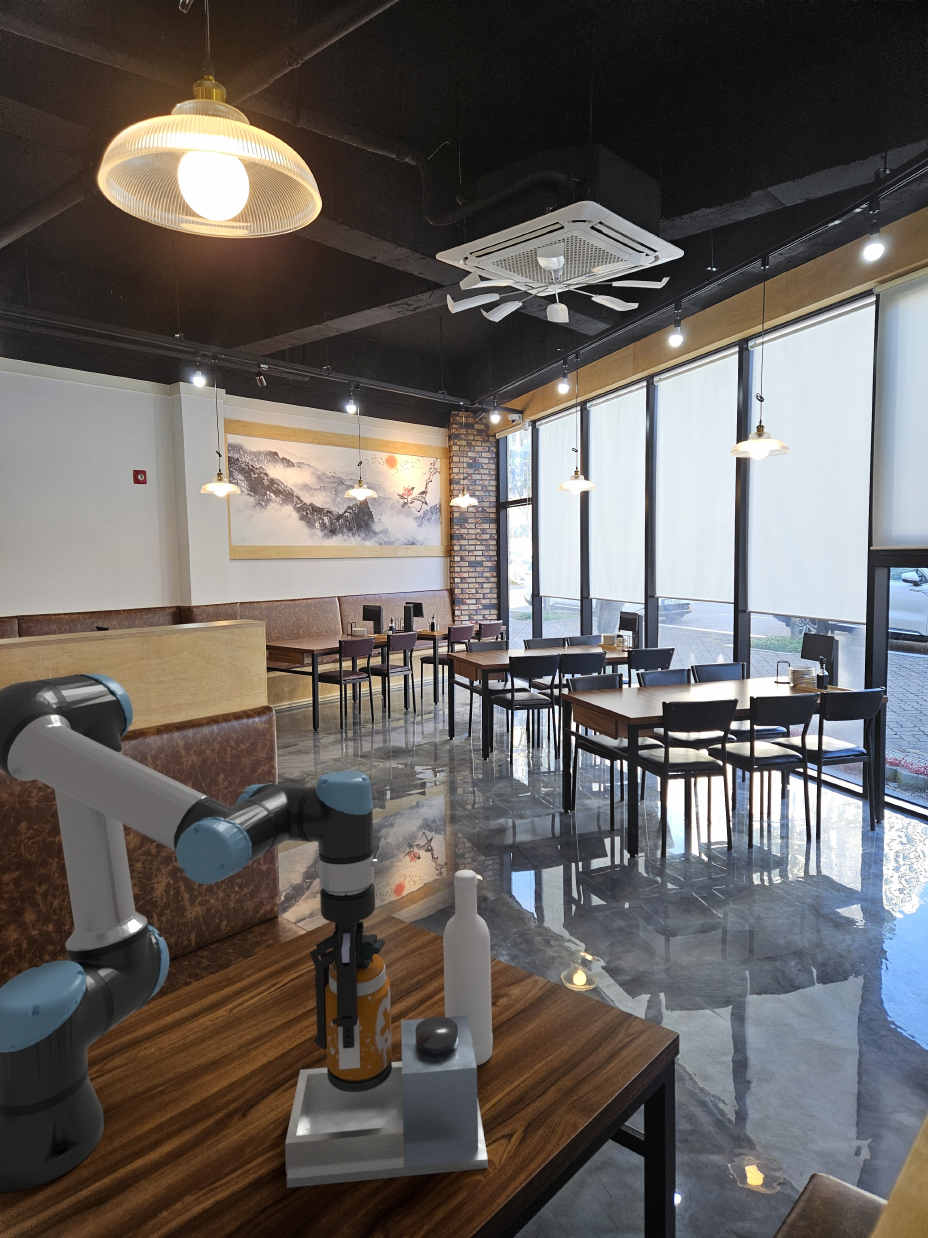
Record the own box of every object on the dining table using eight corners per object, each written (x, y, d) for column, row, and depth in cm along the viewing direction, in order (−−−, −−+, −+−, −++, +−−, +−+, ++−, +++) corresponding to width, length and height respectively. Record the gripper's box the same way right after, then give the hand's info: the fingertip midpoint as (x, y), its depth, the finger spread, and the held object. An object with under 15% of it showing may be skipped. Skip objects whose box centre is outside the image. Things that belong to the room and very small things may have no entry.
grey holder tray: (285, 1188, 90) (282, 1079, 90) (301, 1100, 106) (299, 1007, 106) (487, 1168, 93) (485, 1062, 92) (474, 1085, 108) (472, 994, 108)
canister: (380, 1101, 93) (376, 952, 93) (302, 1091, 96) (298, 946, 95) (399, 1058, 102) (396, 922, 102) (328, 1050, 104) (324, 917, 104)
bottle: (484, 1072, 111) (480, 885, 111) (438, 1063, 114) (434, 880, 113) (498, 1042, 119) (495, 867, 118) (454, 1034, 122) (451, 862, 121)
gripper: (371, 917, 88) (376, 1095, 88) (376, 856, 109) (380, 999, 110) (310, 922, 87) (316, 1101, 87) (327, 858, 108) (332, 1003, 109)
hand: (352, 1044), depth 98 cm, fingers closed on canister, 9 cm apart
